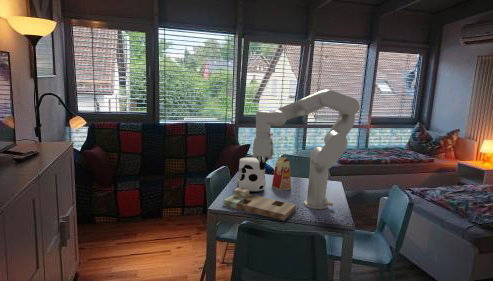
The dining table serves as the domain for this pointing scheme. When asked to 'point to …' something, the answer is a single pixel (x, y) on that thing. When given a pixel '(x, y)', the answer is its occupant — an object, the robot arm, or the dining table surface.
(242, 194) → the block
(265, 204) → the wooden puzzle board
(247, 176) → the milk container
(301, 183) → the dining table surface
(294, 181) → the dining table surface
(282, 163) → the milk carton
